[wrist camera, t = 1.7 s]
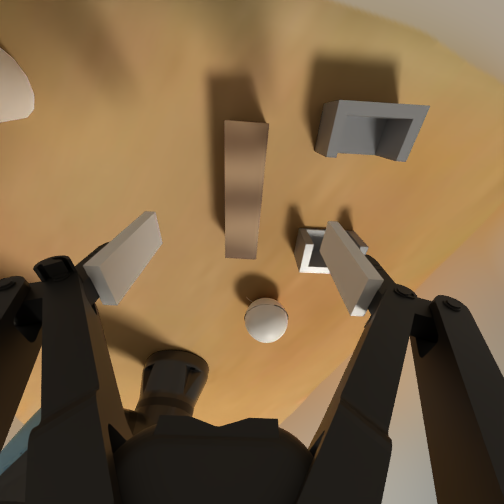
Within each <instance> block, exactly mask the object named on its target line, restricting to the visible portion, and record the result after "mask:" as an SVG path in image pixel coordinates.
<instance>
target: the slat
mask: <svg viewBox="0 0 504 504" xmlns="http://www.w3.org/2000/svg"><path fill="white" fill-rule="evenodd" d="M224 130H225V258H238V259H256V254H257V244H258V234H259V223H260V213H261V203H262V192H263V182H264V172H265V161H266V151H267V141H268V130H269V124H268V123H262V122H249V121H237V120H224Z"/></svg>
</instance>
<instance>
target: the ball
mask: <svg viewBox="0 0 504 504" xmlns="http://www.w3.org/2000/svg"><path fill="white" fill-rule="evenodd" d="M246 298H247V297H246ZM247 299H248V298H247ZM251 302H252V301H251ZM244 320H245V325H246V328H247V330H248V332H249V334H250V335H251V336H252V337H253V338H254V339H256V340H258V341H260V342H263V343H270V342H274V341H276V340H278V339H279V338H280V337H281V336H282V335H283V334H284V333H285V330H286V328H287V324H288V314H287V312H286V311H285V308H284V307H283V306H282V305H281V304H280V303H279V302H278V301H276V300H275V299H271V298H260V299H257V300H255V301H254V302H252V303H251V305H250V306H249V307H248V309H247V311H246V314H245V317H244Z"/></svg>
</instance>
